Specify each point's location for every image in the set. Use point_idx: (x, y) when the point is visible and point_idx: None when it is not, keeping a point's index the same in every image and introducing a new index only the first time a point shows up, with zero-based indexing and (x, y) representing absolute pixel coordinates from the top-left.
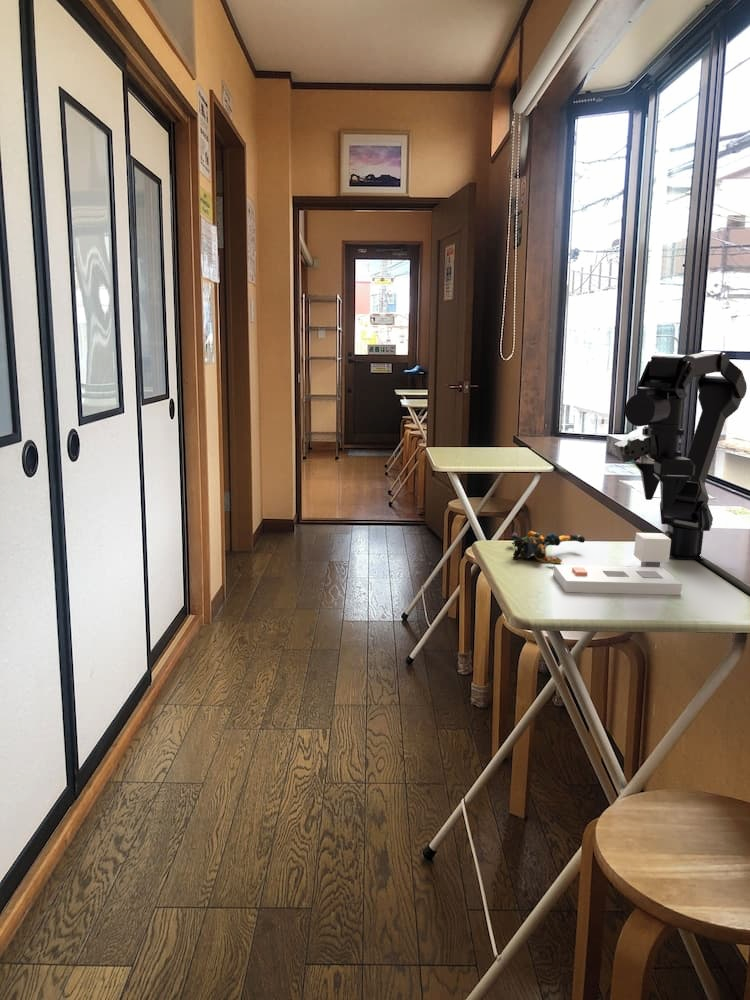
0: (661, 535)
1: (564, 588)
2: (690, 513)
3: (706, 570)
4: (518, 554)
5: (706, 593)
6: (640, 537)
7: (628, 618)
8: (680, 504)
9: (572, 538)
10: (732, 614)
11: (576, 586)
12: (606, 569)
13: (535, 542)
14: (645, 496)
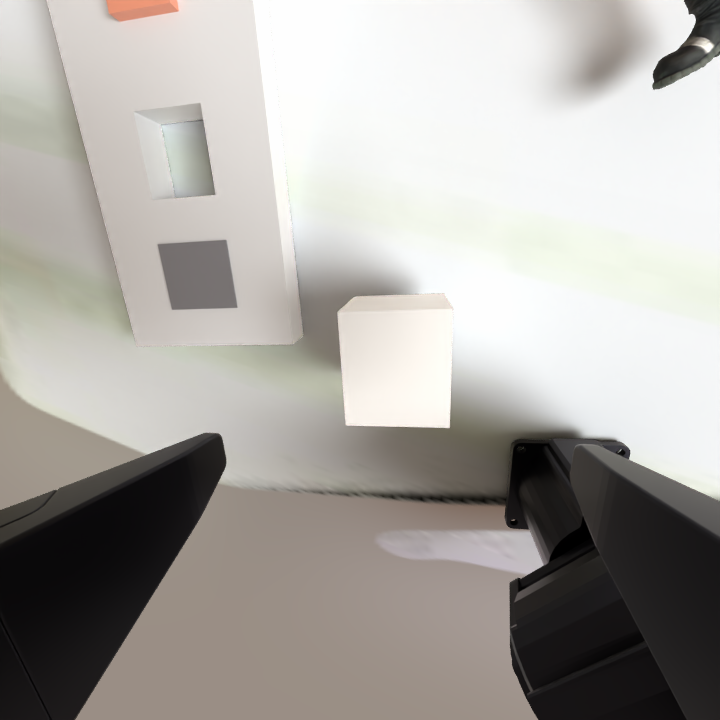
0: (408, 409)
1: None
2: (520, 615)
3: (400, 485)
4: None
5: (193, 407)
6: (381, 309)
7: None
8: (591, 630)
9: (691, 5)
10: (62, 404)
11: None
12: (222, 127)
13: None
14: (597, 452)
